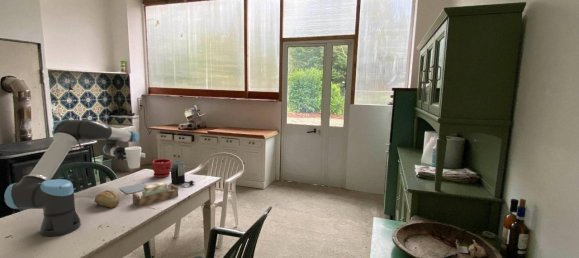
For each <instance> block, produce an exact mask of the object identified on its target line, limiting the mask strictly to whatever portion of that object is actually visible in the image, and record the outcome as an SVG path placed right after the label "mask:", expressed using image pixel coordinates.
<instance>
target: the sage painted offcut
mask: <svg viewBox="0 0 579 258" xmlns="http://www.w3.org/2000/svg"><path fill="white" fill-rule="evenodd" d="M169 190H170V188H169V186H167V188H164V189H160V190H156V191H152V192H148V193H147V192H145V191H141V192H142V194H141V195H143V196H145V197H146V196H150V195H154V194H158V193H162V192H166V191H169Z"/></svg>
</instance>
